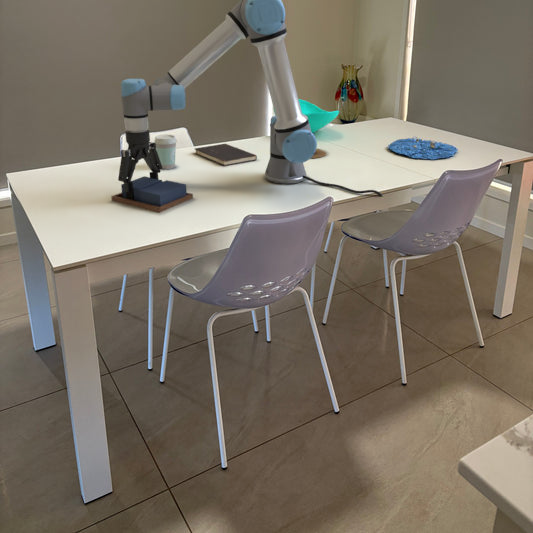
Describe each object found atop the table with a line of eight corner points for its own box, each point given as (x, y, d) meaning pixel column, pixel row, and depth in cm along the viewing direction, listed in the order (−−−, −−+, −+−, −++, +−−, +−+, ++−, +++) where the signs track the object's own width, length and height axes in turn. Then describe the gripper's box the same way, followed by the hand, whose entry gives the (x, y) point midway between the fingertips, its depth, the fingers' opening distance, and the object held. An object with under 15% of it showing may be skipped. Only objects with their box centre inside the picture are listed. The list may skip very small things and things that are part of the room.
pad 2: (187, 198, 195) (186, 184, 193) (160, 210, 185) (159, 195, 183) (167, 194, 199) (166, 180, 197) (140, 205, 189) (139, 190, 187)
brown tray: (193, 199, 196) (192, 193, 195) (159, 214, 183) (159, 208, 182) (146, 188, 206) (146, 183, 205) (112, 202, 193) (111, 196, 192)
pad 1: (163, 194, 199) (162, 180, 196) (140, 203, 190) (139, 188, 188) (145, 190, 202) (144, 176, 200) (122, 199, 194) (121, 184, 192)
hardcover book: (223, 166, 232) (223, 160, 231) (194, 153, 249) (194, 148, 248) (256, 160, 241) (256, 154, 240) (226, 148, 257) (226, 143, 256)
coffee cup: (174, 171, 226) (172, 139, 221) (152, 169, 227) (150, 138, 222) (181, 165, 233) (179, 134, 228) (160, 163, 235) (158, 133, 230)
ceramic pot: (294, 146, 262) (295, 130, 259) (332, 151, 255) (333, 134, 252) (277, 155, 248) (278, 138, 244) (317, 160, 241) (318, 143, 238)
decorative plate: (471, 160, 248) (474, 148, 245) (406, 163, 241) (408, 151, 238) (437, 141, 273) (439, 130, 270) (377, 143, 266) (379, 132, 264)
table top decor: (352, 138, 277) (354, 109, 271) (302, 144, 265) (303, 114, 259) (306, 122, 308) (307, 96, 303) (260, 127, 296) (260, 100, 290)
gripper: (153, 122, 198) (157, 185, 207) (101, 135, 180) (109, 203, 189) (170, 124, 194) (174, 188, 203) (119, 138, 176) (126, 208, 186)
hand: (143, 196), depth 196 cm, fingers closed on pad 1, 11 cm apart
